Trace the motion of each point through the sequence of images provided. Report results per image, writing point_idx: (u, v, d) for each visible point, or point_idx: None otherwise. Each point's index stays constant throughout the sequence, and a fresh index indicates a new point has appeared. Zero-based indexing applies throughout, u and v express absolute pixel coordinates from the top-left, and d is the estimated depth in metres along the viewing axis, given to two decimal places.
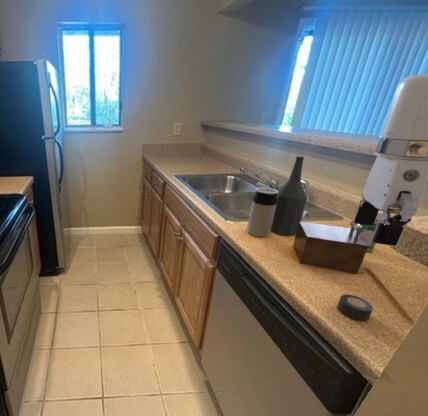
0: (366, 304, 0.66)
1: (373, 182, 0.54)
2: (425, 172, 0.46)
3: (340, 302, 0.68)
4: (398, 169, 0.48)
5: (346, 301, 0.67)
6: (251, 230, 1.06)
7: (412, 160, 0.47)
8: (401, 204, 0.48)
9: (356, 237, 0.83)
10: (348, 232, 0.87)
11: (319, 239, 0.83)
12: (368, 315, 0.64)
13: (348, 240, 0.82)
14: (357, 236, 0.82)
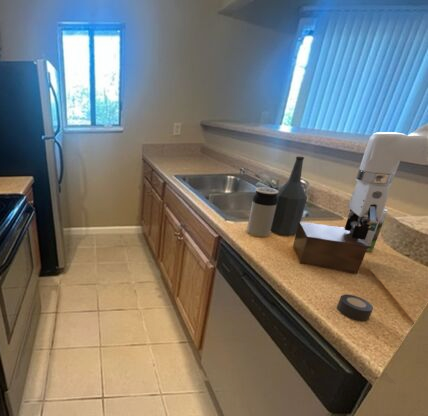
0: (366, 304, 0.66)
1: (355, 198, 0.82)
2: (385, 193, 0.75)
3: (340, 302, 0.68)
4: (369, 190, 0.76)
5: (346, 301, 0.67)
6: (251, 230, 1.06)
7: (377, 185, 0.75)
8: (368, 215, 0.77)
9: None
10: (348, 232, 0.87)
11: (319, 239, 0.83)
12: (368, 315, 0.64)
13: (348, 240, 0.82)
14: None
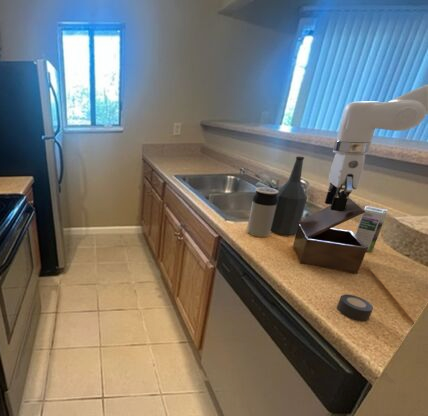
0: (366, 304, 0.66)
1: (333, 169, 0.82)
2: (361, 162, 0.75)
3: (340, 302, 0.68)
4: (345, 160, 0.76)
5: (346, 301, 0.67)
6: (251, 230, 1.06)
7: (353, 154, 0.75)
8: (345, 185, 0.77)
9: (347, 208, 0.81)
10: None
11: (317, 232, 0.83)
12: (368, 315, 0.64)
13: (342, 217, 0.80)
14: (347, 207, 0.81)
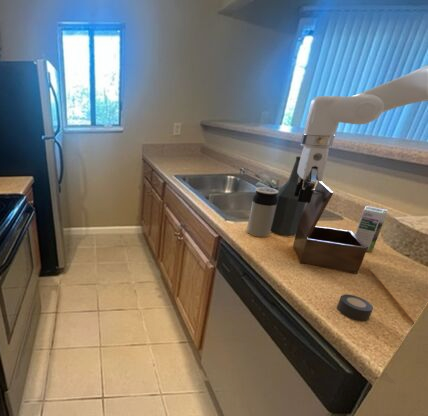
0: (366, 304, 0.66)
1: (300, 162, 0.85)
2: (325, 155, 0.77)
3: (340, 302, 0.68)
4: (310, 153, 0.79)
5: (346, 301, 0.67)
6: (251, 230, 1.06)
7: (318, 147, 0.78)
8: (310, 177, 0.80)
9: (320, 195, 0.83)
10: (317, 192, 0.87)
11: (311, 229, 0.83)
12: (368, 315, 0.64)
13: (320, 205, 0.82)
14: (319, 194, 0.83)
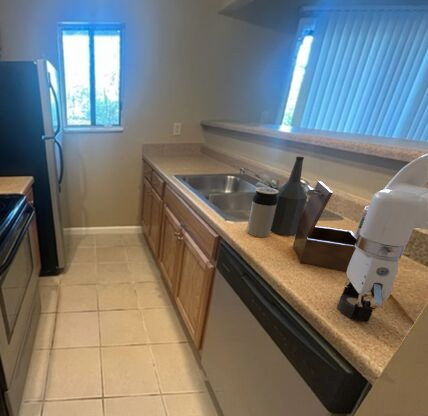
0: None
1: (354, 267, 0.65)
2: (393, 270, 0.57)
3: (340, 302, 0.68)
4: (372, 265, 0.59)
5: (346, 301, 0.67)
6: (251, 230, 1.06)
7: (383, 259, 0.58)
8: (372, 295, 0.60)
9: (320, 195, 0.83)
10: None
11: (311, 229, 0.83)
12: None
13: (320, 205, 0.82)
14: (318, 194, 0.83)
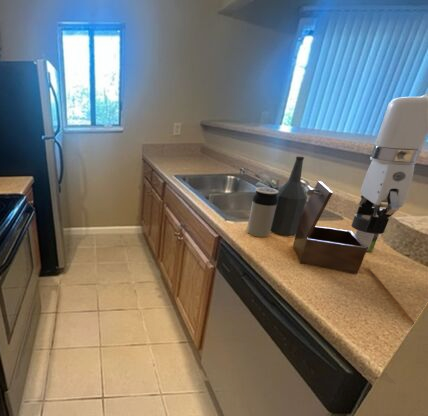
0: None
1: (369, 182, 0.66)
2: (409, 174, 0.59)
3: (355, 219, 0.69)
4: (389, 171, 0.60)
5: (361, 217, 0.68)
6: (251, 230, 1.06)
7: (399, 164, 0.59)
8: (388, 201, 0.61)
9: (320, 195, 0.83)
10: None
11: (311, 229, 0.83)
12: None
13: (320, 205, 0.82)
14: (318, 194, 0.83)
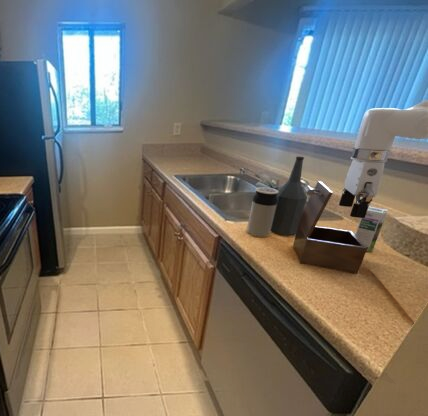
0: None
1: (350, 177, 0.81)
2: (380, 170, 0.74)
3: None
4: (364, 168, 0.75)
5: None
6: (251, 230, 1.06)
7: (372, 162, 0.74)
8: (366, 190, 0.75)
9: (320, 195, 0.83)
10: None
11: (311, 229, 0.83)
12: None
13: (320, 205, 0.82)
14: (318, 194, 0.83)
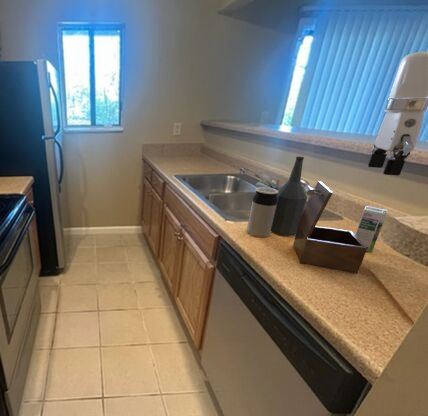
0: None
1: (383, 132, 0.75)
2: (419, 120, 0.67)
3: None
4: (401, 119, 0.69)
5: None
6: (251, 230, 1.06)
7: (411, 112, 0.68)
8: (403, 143, 0.69)
9: (320, 195, 0.83)
10: None
11: (311, 229, 0.83)
12: None
13: (320, 205, 0.82)
14: (318, 194, 0.83)
